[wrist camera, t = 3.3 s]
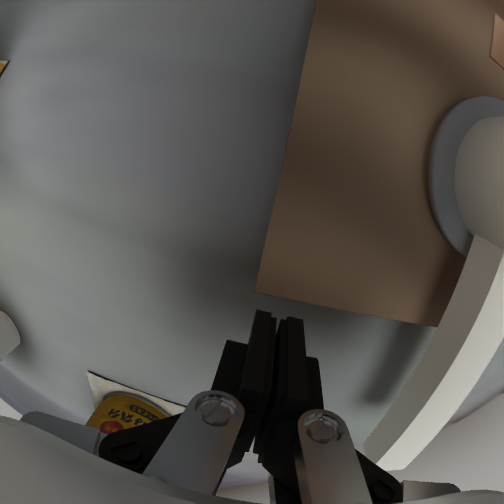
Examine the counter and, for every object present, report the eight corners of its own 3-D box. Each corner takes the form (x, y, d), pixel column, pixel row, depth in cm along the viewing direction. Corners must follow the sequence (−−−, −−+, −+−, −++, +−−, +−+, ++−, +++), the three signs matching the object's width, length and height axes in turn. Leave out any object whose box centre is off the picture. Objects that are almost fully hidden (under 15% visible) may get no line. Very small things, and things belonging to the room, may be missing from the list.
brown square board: (333, -91, 6) (336, -108, 4) (572, 51, 5) (586, 49, 4) (257, 275, 12) (253, 292, 11) (530, 329, 12) (542, 342, 10)
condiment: (193, 407, 15) (129, 587, 4) (187, 467, 18) (148, 589, 7) (88, 368, 16) (-12, 502, 4) (104, 437, 18) (46, 541, 7)
